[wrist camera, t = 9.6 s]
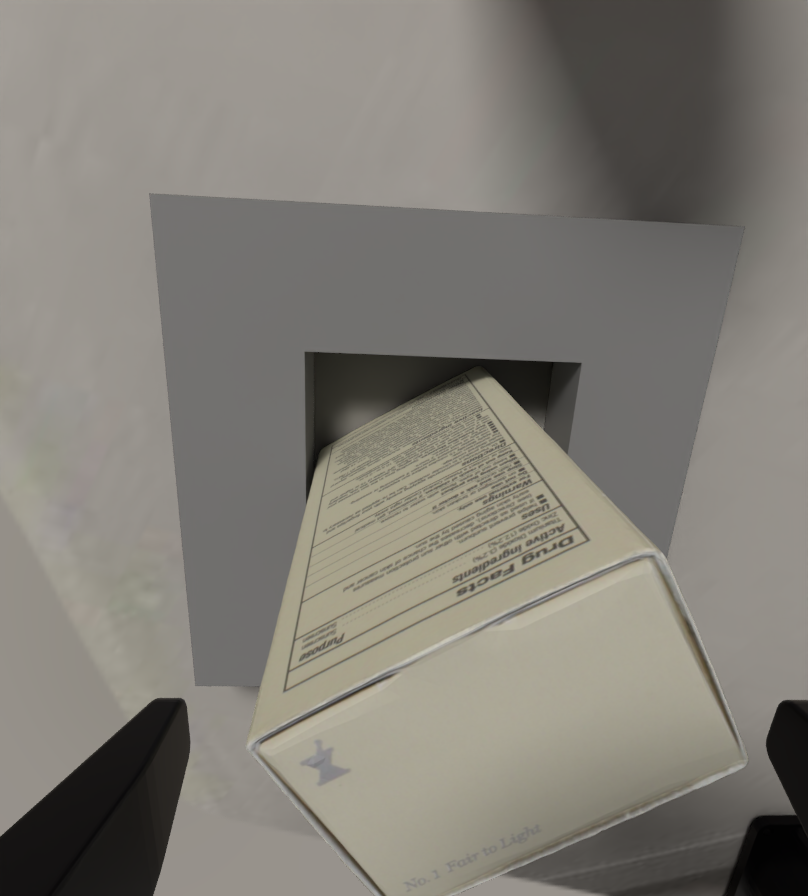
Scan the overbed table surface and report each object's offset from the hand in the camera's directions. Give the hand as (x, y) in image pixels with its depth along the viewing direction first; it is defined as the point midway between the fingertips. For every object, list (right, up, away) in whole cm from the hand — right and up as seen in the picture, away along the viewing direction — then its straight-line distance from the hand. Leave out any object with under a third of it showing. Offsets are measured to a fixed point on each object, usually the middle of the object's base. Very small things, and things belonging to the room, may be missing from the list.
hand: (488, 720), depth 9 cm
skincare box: (0, +4, +11) cm, 12 cm away
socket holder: (0, +4, +11) cm, 11 cm away
